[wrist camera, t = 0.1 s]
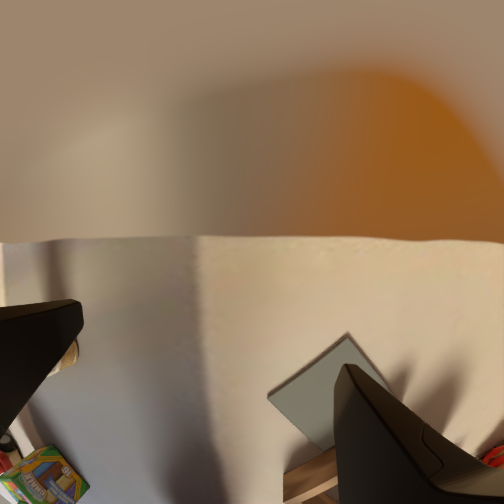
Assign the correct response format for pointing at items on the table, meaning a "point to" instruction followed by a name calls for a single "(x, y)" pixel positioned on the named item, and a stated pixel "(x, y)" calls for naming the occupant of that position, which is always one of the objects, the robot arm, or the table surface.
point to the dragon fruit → (494, 457)
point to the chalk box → (44, 479)
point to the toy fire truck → (8, 453)
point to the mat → (319, 393)
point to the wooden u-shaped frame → (311, 481)
